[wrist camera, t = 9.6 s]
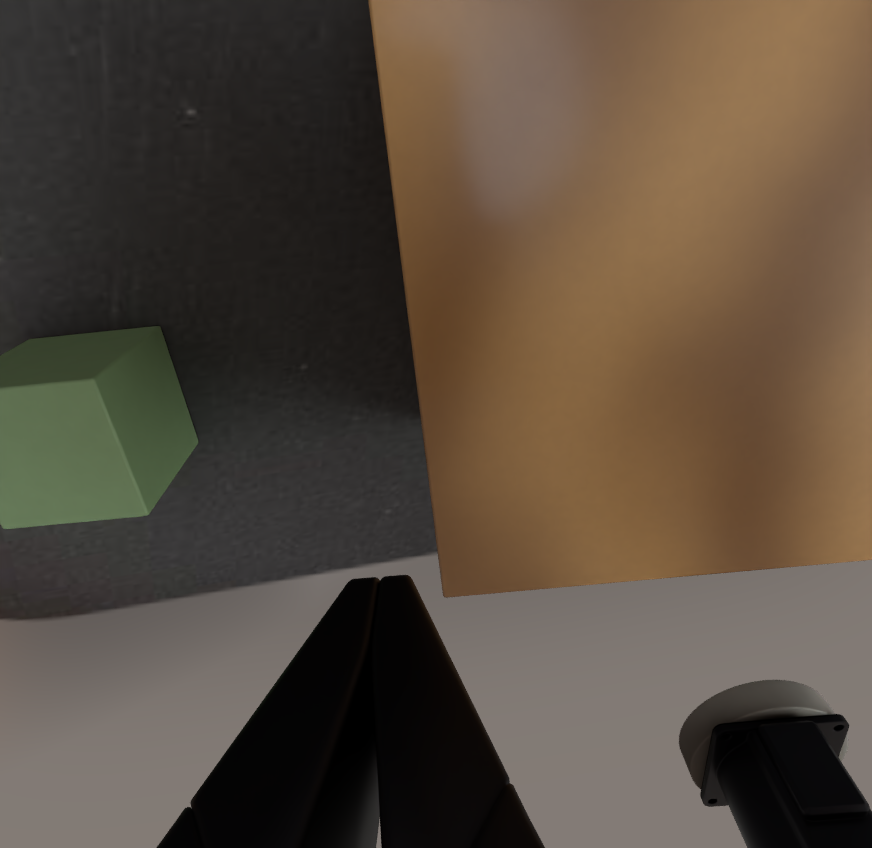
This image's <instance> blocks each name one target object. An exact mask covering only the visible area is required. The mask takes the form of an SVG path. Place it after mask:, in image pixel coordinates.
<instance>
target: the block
mask: <svg viewBox="0 0 872 848" xmlns="http://www.w3.org/2000/svg"><path fill="white" fill-rule="evenodd" d="M197 444H198V438H197V435H196V432H195V429H194V426H193V423H192V420H191V417H190V414H189V411H188V408H187V405H186V402H185V399H184V396H183V393H182V390H181V387H180V384H179V381H178V378H177V375H176V372H175V369H174V366H173V363H172V360H171V357H170V354H169V351H168V348H167V345H166V342H165V339H164V336H163V333H162V330H161V327H160V326H152V327H142V328H132V329H123V330H113V331H103V332H94V333H84V334H74V335H65V336H55V337H45V338H36V339H29V340H27V341H25V342H24V343H22V344H20V345H18V346H16V347H15V348H13V349H11V350H9V351H8V352H6V353H4V354H2V355H1V356H0V524H1V526H2V528H4V529H11V528H22V527H33V526H43V525H54V524H64V523H75V522H86V521H96V520H107V519H118V518H128V517H139V516H147V515H149V514H150V512H151V511H152V509H153V508H154V506H155V505H156V504H157V502H158V501H159V499H160V498H161V496H162V495H163V493H164V492H165V491H166V489H167V488H168V486H169V485H170V483H171V482H172V480H173V479H174V477H175V476H176V475H177V473H178V472H179V470H180V469H181V467H182V466H183V464H184V463H185V461H186V460H187V459H188V457H189V456H190V454H191V453H192V451H193V450H194V448H195V447H196V446H197Z"/></svg>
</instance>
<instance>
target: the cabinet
mask: <svg viewBox="0 0 872 848" xmlns="http://www.w3.org/2000/svg"><path fill="white" fill-rule="evenodd" d="M368 3H369V11H370V19H371V27H372V34H373V42H374V50H375V58H376V66H377V74H378V82H379V90H380V98H381V106H382V114H383V122H384V130H385V138H386V146H387V154H388V162H389V169H390V177H391V185H392V193H393V201H394V209H395V217H396V225H397V233H398V241H399V249H400V257H401V265H402V273H403V281H404V289H405V297H406V304H407V312H408V320H409V328H410V336H411V344H412V352H413V360H414V368H415V376H416V384H417V392H418V400H419V408H420V416H421V424H422V432H423V439H424V447H425V455H426V463H427V471H428V479H429V487H430V495H431V503H432V511H433V519H434V527H435V535H436V543H437V551H438V559H439V566H440V574H441V582H442V590H443V596H444V597H457V596H469V595H480V594H491V593H503V592H513V591H525V590H536V589H548V588H558V587H570V586H581V585H593V584H603V583H615V582H627V581H638V580H649V579H661V578H671V577H683V576H693V575H706V574H717V573H728V572H739V571H751V570H762V569H773V568H784V567H796V566H807V565H818V564H830V563H841V562H853V561H864V560H872V0H368Z"/></svg>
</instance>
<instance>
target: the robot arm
mask: <svg viewBox="0 0 872 848" xmlns="http://www.w3.org/2000/svg"><path fill="white" fill-rule="evenodd" d="M848 728H849V724H848V722H847V721H846V720H845V718H844V717H843V715H840V714H829V715H817V716H805V717H792V718H780V719H768V720H755V721H743V722H731V723H722V724H718V725H716V726H715V727H714V728H713V730H712V735H711V740H710V745H709V750H708V756H707V761H706V766H705V771H704V777H703V782H702V787H701V793H700V796H701V799H702V801H703V804H704V805H705V806H709V807H710V806H711V807H712V806H726V805H729V807H730V810H731V812H732V814H733V816H734V819H735V821H736V823H737V825H738V828H739V830H740V832H741V834H742V837H743V839H744V841H745V843H746V846H747V848H872V811H871V810H870V807H869V804H868V803H867V801H866V799H865V798H864V796H863V795H862V793H861V792H860V790H859V789H858V787H857V786H856V784H855V783H854V781H853V779H852V778H851V776H850V775H849V773H848V772H847V770H846V769H845V767H844V766H843V764H842V762H841V761H840V759H839V758H838V756H839V753H840V751H841V748H842V745H843V742H844V740H845V737H846V734H847V731H848ZM191 807H192V808H190V807H187V808H185V809H184V810H183V812H182V813H181V815H180V816H179V818H178V819H177V821H176V822H175V823H174V824H173V826H172V827H171V829H170V830H169V831H168V833H167V834H166V835H165V837H164V838H163V840H162V841H161V843H160V844H159V845H158V846H157V848H376V843H377V834H378V826H379V817H380V826H381V844H382V848H545V847H544V845H543V843H542V841H541V840H540V838H539V836H538V834H537V832H536V830H535V829H534V826H533V824H532V822H531V821H530V819H529V817H528V815H527V813H526V811H525V809H524V807H523V805H522V803H521V800H520V798H519V796H518V794H517V792H516V790H515V788H514V786H513V785H512V784H510V783H509V777H508V775H507V773H506V771H505V769H504V767H503V765H502V762H501V760H500V759H499V756H498V754H497V752H496V750H495V748H494V746H493V744H492V742H491V740H490V738H489V736H488V734H487V732H486V730H485V728H484V726H483V724H482V722H481V719H480V717H479V716H478V713H477V711H476V709H475V707H474V705H473V703H472V701H471V699H470V697H469V695H468V693H467V691H466V689H465V687H464V685H463V683H462V681H461V679H460V676H459V674H458V672H457V670H456V668H455V666H454V664H453V662H452V660H451V658H450V656H449V654H448V652H447V650H446V648H445V646H444V644H443V642H442V640H441V638H440V636H439V633H438V631H437V629H436V627H435V625H434V623H433V621H432V619H431V617H430V615H429V613H428V611H427V609H426V607H425V605H424V603H423V601H422V599H421V597H420V595H419V593H418V590H417V589H416V586H415V584H414V582H413V580H412V579H411V577H410V576H408V575H398V576H386V577H383V578H382V579H381V581H380V580H379V579H378V578H376V577H372V578H360V579H352V580H351V581H349V582H348V583H347V584H346V586H345V587H344V589H343V590H342V591H341V593H340V594H339V596H338V597H337V598H336V600H335V601H334V603H333V604H332V605H331V607H330V608H329V610H328V611H327V612H326V614H325V615H324V616H323V618H322V619H321V621H320V622H319V624H318V625H317V626H316V628H315V629H314V630H313V632H312V633H311V634H310V636H309V637H308V639H307V640H306V641H305V643H304V644H303V646H302V647H301V648H300V650H299V651H298V653H297V654H296V655H295V657H294V658H293V660H292V661H291V662H290V664H289V665H288V667H287V668H286V669H285V671H284V672H283V673H282V675H281V676H280V678H279V679H278V680H277V682H276V683H275V684H274V686H273V687H272V689H271V690H270V692H269V693H268V694H267V696H266V697H265V699H264V700H263V701H262V703H261V704H260V706H259V707H258V708H257V710H256V711H255V712H254V714H253V715H252V716H251V718H250V719H249V721H248V722H247V723H246V725H245V726H244V728H243V729H242V731H241V732H240V733H239V735H238V736H237V737H236V739H235V740H234V742H233V743H232V744H231V746H230V747H229V749H228V750H227V751H226V753H225V754H224V755H223V757H222V758H221V760H220V761H219V762H218V764H217V765H216V766H215V768H214V770H213V771H212V772H211V773H210V775H209V776H208V778H207V779H206V780H205V782H204V783H203V785H202V786H201V787H200V789H199V790H198V792H197V793H196V794H195V796H194V797H193V799H192V800H191Z"/></svg>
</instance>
